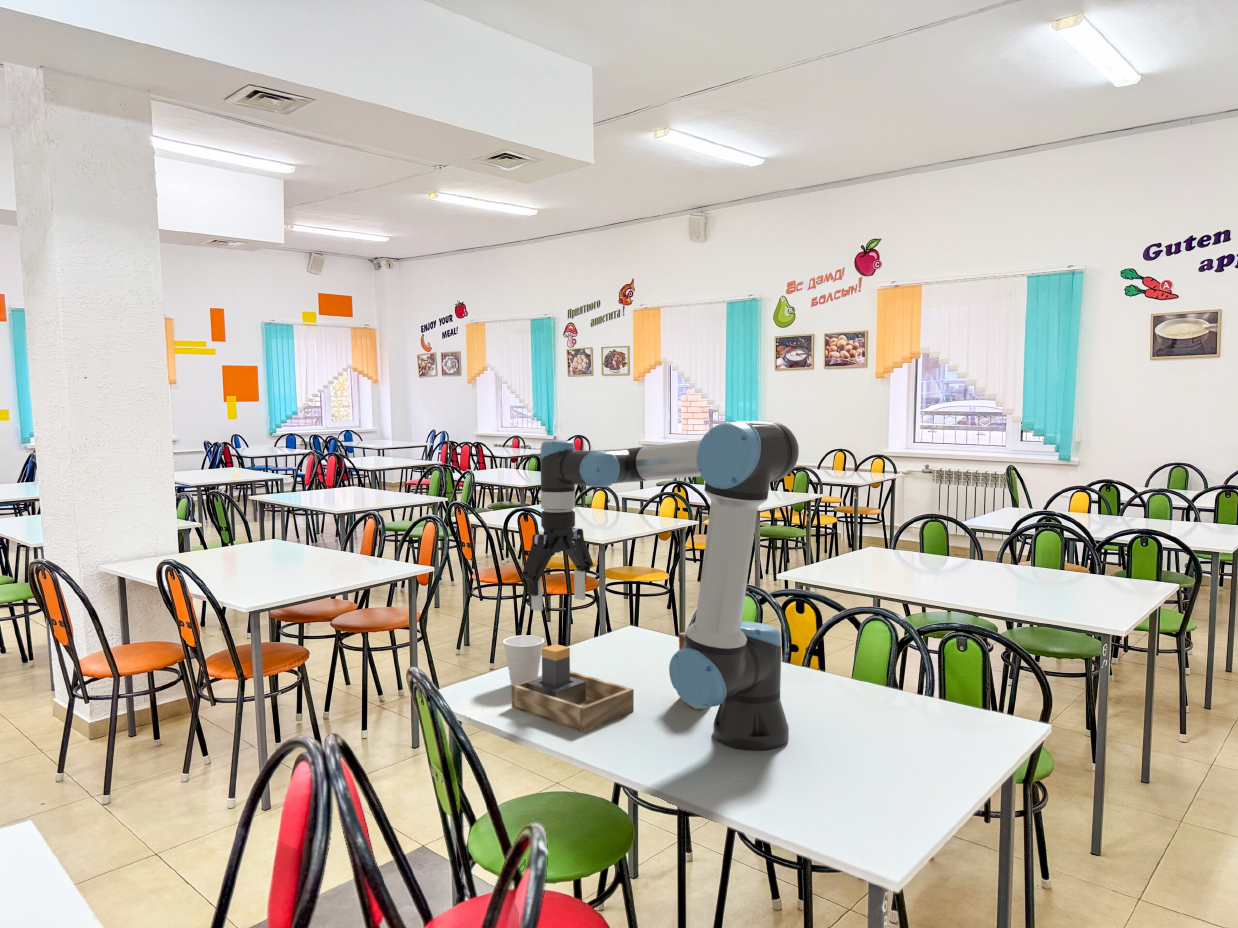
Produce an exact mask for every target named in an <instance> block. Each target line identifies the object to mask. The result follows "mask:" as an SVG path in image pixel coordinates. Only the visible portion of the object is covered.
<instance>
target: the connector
mask: <svg viewBox="0 0 1238 928" xmlns="http://www.w3.org/2000/svg"><path fill="white" fill-rule="evenodd" d="M570 653H571V649H570V647H568V646H564V645H560V644H557V643H555V644H551V645H548V646H545V647H543V648H542V654H541V676H542V684H544V685H548V686H551V687H554V688H558V687H561V686H563V685H566V684H569V683H570V671H571V657H570V656H571V654H570Z"/></svg>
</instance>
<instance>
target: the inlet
mask: <svg viewBox="0 0 1238 928" xmlns="http://www.w3.org/2000/svg"><path fill="white" fill-rule="evenodd" d="M527 689H531V690H534V691H537V692H540V693H543V694H546V695H549V696H553V697H556V698H559V699H562V700H565V701H568V702H571V703H575V704H579V703H582V702H584V701H586V681H583V680H579V679H576V678H573V677H570V683H569V684H566V685H563V686H561V687H558V688H554V687H551V686H548V685H544V684H542V678H539V679H536V680H533V681H530V682H527Z"/></svg>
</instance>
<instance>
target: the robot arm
mask: <svg viewBox="0 0 1238 928" xmlns="http://www.w3.org/2000/svg"><path fill="white" fill-rule="evenodd" d="M799 449H800V448H799V443H798V440H797V438H796V436H795V435H794V433H793V432H792V430H791V429H789V427H787V426H786V425H784V424H783V423H779V422H777V421H774V420H773V421H772V420H760V421H759V420H755V421H754V420H752V421H751V420H748V421H747V420H731V421H729V422H722V423H719V424H716V425H714V426H713V427H711V428H710V430H708V431H707V432H706V433H705V434H704V435H703V437H702V438H701V439H698V440H691V441H690V440H689V441H682V442H681V441H680V442H673V443H666V444H665V443H664V444H657V445H648V446H640V447H639V446H638V447H631V448H617V449H598V450H576V448H575V442H574V441H572V440H559V439H557V440H545V441H543V442H542V443H541V445H540V458H539V462H540V501H541V502H540V507H541V509H542V511H541V512H540V517H541V518H540V522H541V523H540V525H541V528H542V529H543V534H536V533H534V534H532V536H531V537H532V538H531V547H530V550H529V552H528V555H527V558H526V562H525V564H524V568H523V570H522V574H521V578H522V579H524V580H527V581H528V582H529V595H530V596H531V597H530V598H531V602H530V603H531V605H530V606H531V610H533V611H539V612H542V611H543V609H544V608H543V605H544V603H543V602H544V601H543V580H540V579H541V577H542V575H543V573H544V572H545V570H546V568H547V566H548V564H549V562H550V560H551V559H552V557H553V556H555V554H557V553H560V552H565V553H566V554H567V556H568V557H569V559H570V561H571V562H572V563H573V565H574V566H575V568H576V569H574V571H573V578H574V579H573V580H574V581H573V582H574V583H573V584H574V585H573V586H574V587H573V588H574V589H573V590H574V591H573V593H574V597H573V598H574V599H575V600H581V601H585V600H586V585H587V572H590V571H591V567H593V566H594V562H593V559H592V557H591V554H590V551H589V549H588V545H587V543H586V541H585V537H584V530H583V529H582V528H578V527H575V526H576V511H574V510H573V509H575V508H576V490H575V489H576V486H585V487H593V488H606V487H607V488H608V487H610V486H612V485H613V484H621V483H622V484H623V483H635V482H646V481H654V480H655V481H656V480H657V481H658V480H668V479H669V480H670V479H681V478H683V479H684V478H685V479H686V478H694V477H695V478H697V477H700V478H701V479H703V481H704V482H705V483H704V492H705V494H706V495H707V497H708V498H709V499H710V507H709V515H708V522H707V523H708V524H707V530H706V537H705V538H706V539H705V544H704V545H705V546H704V552H703V553H704V554H703V561H702V566H701V567H702V568H701V576H700V583H699V591H698V599H697V605H696V612H695V613H696V614H695V621H694V622H693V623H691V624H690V625H689V626H687V627H686V630H685V632H686V634H685V641H684V648H682V649H680V650H677V651H676V653H674V654H672V657H671V658H670V661H669V666H668V667H669V668H668V669H669V670H668V671H669V678H670V682H671V685H672V687H673V689H675V691H676V693H677V695H678V697H680V699H681V700H682V701H684V702H685V703H686V704H687V705H688V706H690V705H691V706H693V707H695V708H700V709H699V710H705V709H706V708H707V709H710V708H712V707H717V706H718V709H717V710H716V715H715V718H714V721H713V737H714V738H715V739H716V740H717V742H720V743H721V744H724V745H727V746H729V747H733V748H737V749H743V750H753V751H759V750H762V751H763V750H769V749H770V750H771V749H776V748H779V747H782V746H783V745H785V744H786V743H787V742H788V740H789V738H790V737H789V736H790V735H789V732H790V730H789V729H790V728H789V724H788V722H787V721H788V720H787V718H786V714H785V712H784V707H783V703H782V701H781V680H782V679H781V674H782V673H781V672H782V669H781V668H782V665H781V664H782V649H783V646H782V640H781V639H782V638H781V633H780V630H779V629H777V628H776V627H775V626H773V625H769V624H766V623H761V622H754V621H747V620H746V621H743V615H744V614H743V613H744V608H745V607H744V605H745V600H746V592H747V586H748V577H749V571H750V564H751V559H752V558H751V557H752V551H753V543H754V535H755V529H756V522H757V515H758V508H759V507H760V506H761V505H763V504H764V503H765V502H766V501H767V500H768V497H769V492H770V486H771V485H770V483H771V482H773V483H774V482H776V481H779V480H782V479H784V478H785V477H787V476H788V475H789V474H790V473H791V472H792V471H793V469H794V468H795V466H796V465H797V462H798V459H799V455H800V454H799V452H800V450H799ZM575 485H576V486H575ZM691 706H690V707H691ZM709 707H710V708H709ZM707 709H706V710H707Z"/></svg>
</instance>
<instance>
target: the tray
mask: <svg viewBox="0 0 1238 928" xmlns="http://www.w3.org/2000/svg"><path fill="white" fill-rule="evenodd" d="M570 677H573V678H576V679H579V680H583V681H586V701H584V702H582V703H579V704H575V703H571V702H568V701H565V700H562V699H559V698H556V697H553V696H549V695H546V694H543V693H540V692H537V691H534V690H531V689H527V682H530V681H533V680H536V679H539V678H542V675H538V677H536V678H533V679H530V680H527V681H524V682H521V683H518V684H515V685H511V708H512V709H515V710H517V711H519V712H520V711H521V712H523V713H526V714H529V715H532V716H535V717H538V718H541V719H544V720H547V721H549V722H553V723H554V724H559V725H561V726H565V727H567V728H569V729H572V730H576V731H577V732H578V731H579V732H582V733H585V732H588V731H590V730H592V729H595V728H597V727H600V726H602V725H604V724H607V723H609V722H611V721H615V720H617V719H619V718H621V717H623V716H626V715H628V714H631V713H633V712H634V711H635V710H634V709H635V708H634V694H635V693H634V691H635V690H634V688H632V687H628V686H624V685H621V684H617V683H614V682H610V681H607V680H603V679H600V678H596V677H593V676H590V675H587V674H582V673H579V672H575V671H572V670H570Z"/></svg>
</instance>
